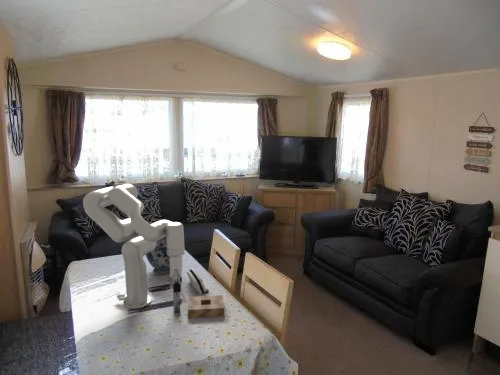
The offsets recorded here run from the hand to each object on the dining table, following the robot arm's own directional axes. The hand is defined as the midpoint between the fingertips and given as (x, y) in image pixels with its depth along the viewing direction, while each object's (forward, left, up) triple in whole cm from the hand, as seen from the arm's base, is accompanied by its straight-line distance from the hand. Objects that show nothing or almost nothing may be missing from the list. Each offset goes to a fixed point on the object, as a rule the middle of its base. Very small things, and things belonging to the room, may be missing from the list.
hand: (177, 287), depth 171 cm
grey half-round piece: (+8, +25, -13) cm, 29 cm away
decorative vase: (-11, +47, -13) cm, 50 cm away
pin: (-1, 0, -12) cm, 12 cm away
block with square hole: (+12, 0, -12) cm, 17 cm away
